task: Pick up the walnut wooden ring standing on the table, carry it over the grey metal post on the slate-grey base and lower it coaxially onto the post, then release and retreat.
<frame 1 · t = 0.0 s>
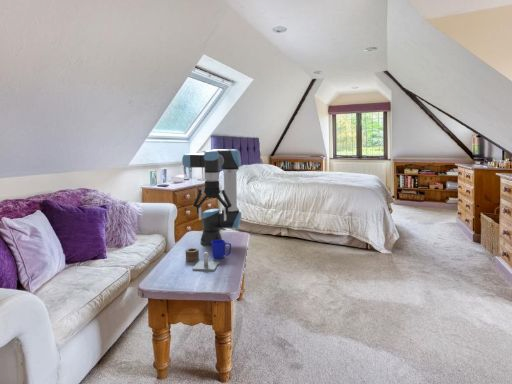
hand: (212, 220, 174), 28 cm above the table, fingers open, 13 cm apart
ring: (192, 259, 194), on the table
post: (206, 266, 183), on the table
mug: (221, 257, 198), on the table
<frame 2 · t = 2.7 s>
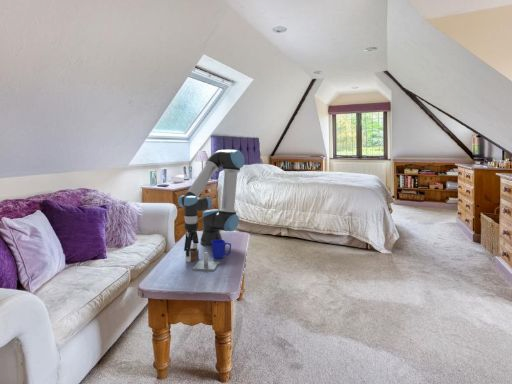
hand: (191, 257, 193), 1 cm above the table, fingers open, 13 cm apart
nothing on the table moved.
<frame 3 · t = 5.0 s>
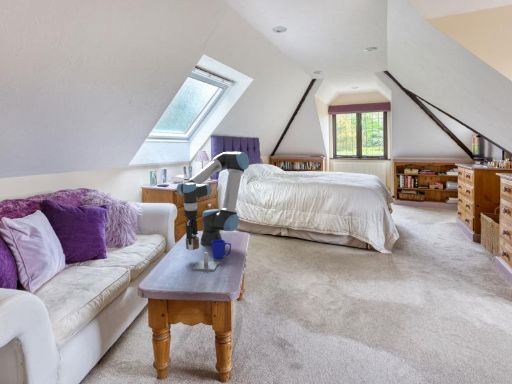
hand: (192, 247, 193), 8 cm above the table, fingers closed on ring, 7 cm apart
ring: (192, 247, 194), point 7 cm above the table, touching gripper
everything else where it was.
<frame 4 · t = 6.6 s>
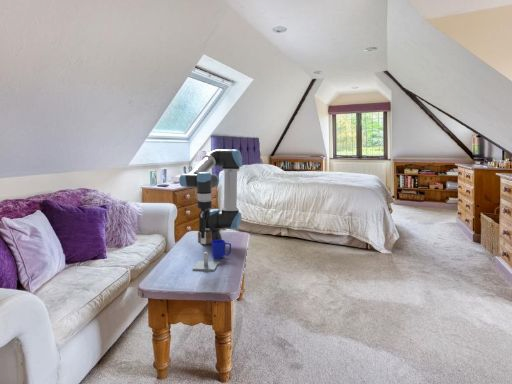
hand: (205, 241, 181), 15 cm above the table, fingers closed on ring, 7 cm apart
ring: (205, 242, 181), point 14 cm above the table, touching gripper
everything else where it was.
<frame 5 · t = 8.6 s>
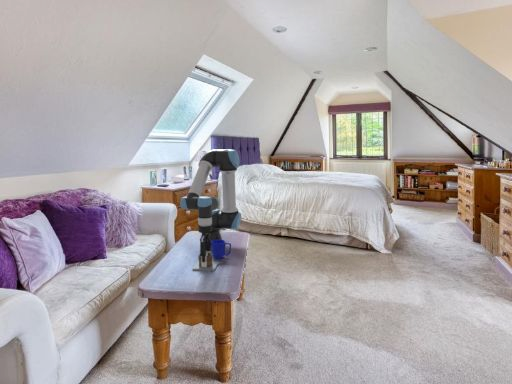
hand: (205, 264, 183), 1 cm above the table, fingers closed on ring, 7 cm apart
ring: (205, 265, 183), point 1 cm above the table, touching gripper, post
everything else where it was.
when the fingers open (1 cm above the table, at t = 8.7 s): ring stays where it is, resting on post.
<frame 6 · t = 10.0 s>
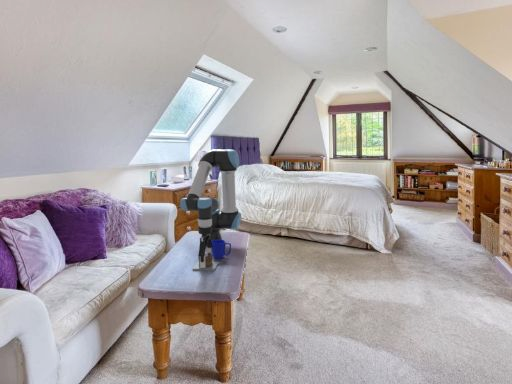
hand: (206, 263, 183), 2 cm above the table, fingers open, 13 cm apart
ring: (205, 265, 183), point 1 cm above the table, touching post
everything else where it was.
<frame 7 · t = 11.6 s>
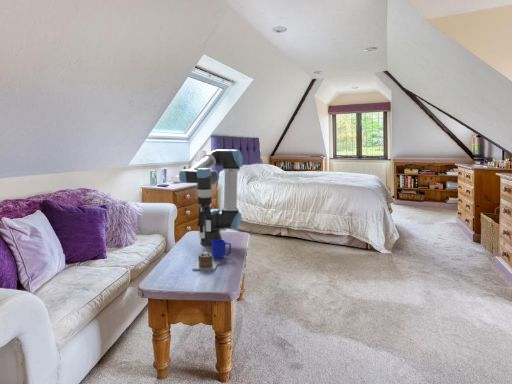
hand: (205, 234, 180), 19 cm above the table, fingers open, 13 cm apart
nothing on the table moved.
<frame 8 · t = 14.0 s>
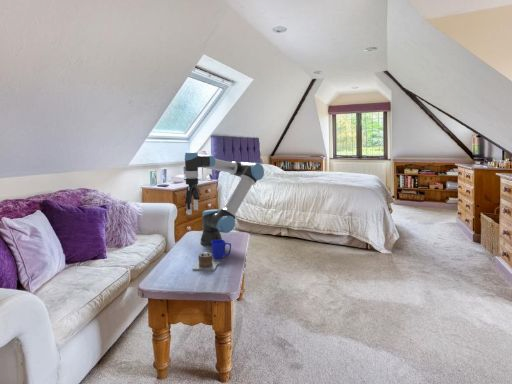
hand: (192, 212, 200), 27 cm above the table, fingers open, 13 cm apart
nothing on the table moved.
at the end: ring 0.1 cm off-centre on the post, point 1.0 cm above the post's base; the gripper is holding nothing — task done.
